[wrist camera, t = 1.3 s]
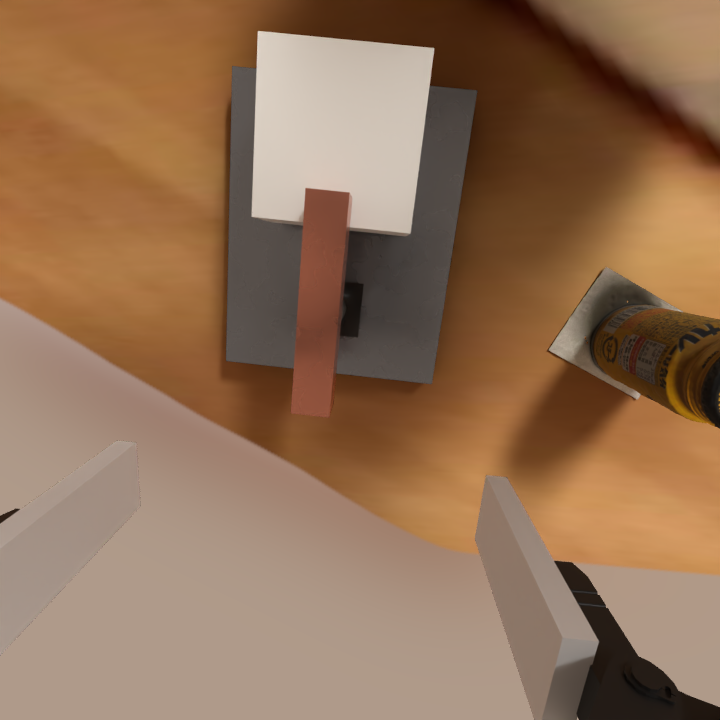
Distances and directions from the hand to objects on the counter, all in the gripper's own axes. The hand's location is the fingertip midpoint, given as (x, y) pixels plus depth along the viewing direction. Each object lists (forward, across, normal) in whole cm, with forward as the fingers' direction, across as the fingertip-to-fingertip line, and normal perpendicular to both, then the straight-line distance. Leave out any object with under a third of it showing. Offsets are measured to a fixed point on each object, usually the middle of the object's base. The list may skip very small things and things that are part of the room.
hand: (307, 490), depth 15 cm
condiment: (+19, +21, +4) cm, 29 cm away
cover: (+15, -1, +14) cm, 21 cm away
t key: (+17, -1, +4) cm, 17 cm away
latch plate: (+19, -1, +10) cm, 21 cm away
